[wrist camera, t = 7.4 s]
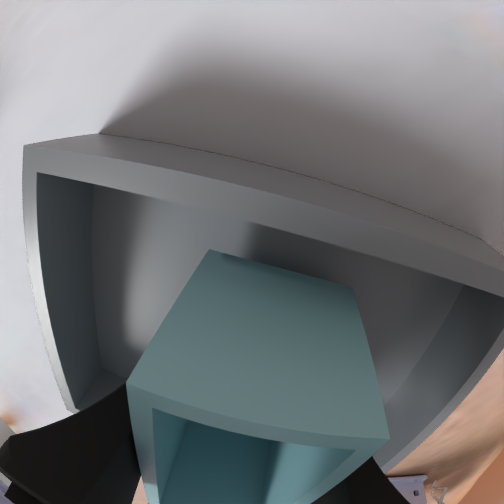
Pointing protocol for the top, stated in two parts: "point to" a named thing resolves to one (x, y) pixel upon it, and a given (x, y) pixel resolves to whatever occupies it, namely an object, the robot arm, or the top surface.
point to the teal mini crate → (255, 389)
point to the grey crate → (256, 249)
